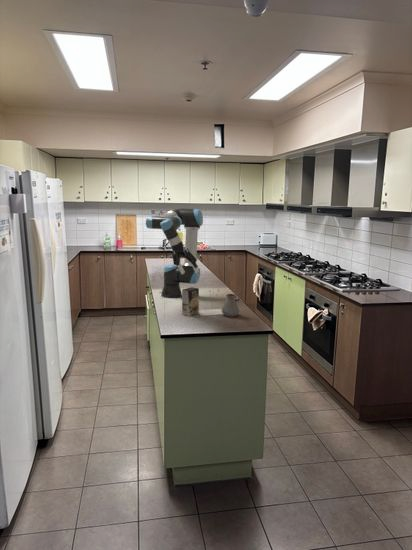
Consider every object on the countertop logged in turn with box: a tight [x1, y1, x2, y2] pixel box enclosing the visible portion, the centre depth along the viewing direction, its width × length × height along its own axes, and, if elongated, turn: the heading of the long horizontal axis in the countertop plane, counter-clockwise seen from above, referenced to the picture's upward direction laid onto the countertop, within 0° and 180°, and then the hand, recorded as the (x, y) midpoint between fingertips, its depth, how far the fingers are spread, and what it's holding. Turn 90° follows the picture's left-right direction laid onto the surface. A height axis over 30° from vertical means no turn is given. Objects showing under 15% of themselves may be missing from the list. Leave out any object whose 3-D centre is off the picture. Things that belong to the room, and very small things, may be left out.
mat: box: [197, 308, 225, 317], centre depth 255 cm, size 12×18×1 cm, turn 109°
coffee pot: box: [221, 293, 241, 318], centre depth 244 cm, size 21×12×15 cm, turn 13°
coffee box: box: [181, 286, 200, 317], centre depth 249 cm, size 9×6×16 cm
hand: (190, 272), depth 252 cm, fingers open, 13 cm apart
